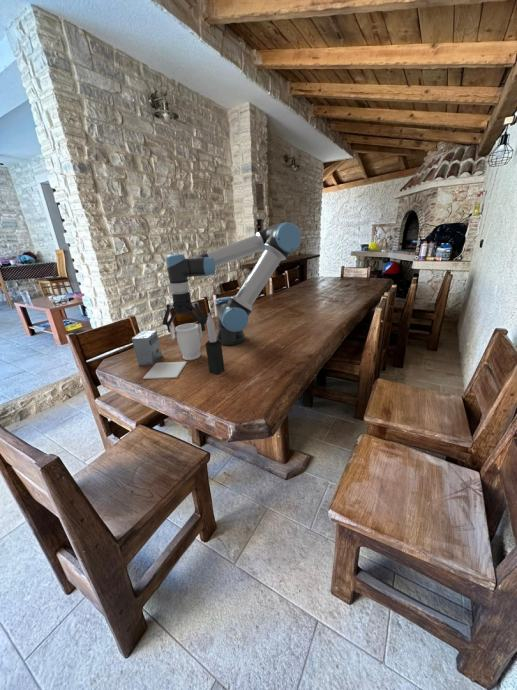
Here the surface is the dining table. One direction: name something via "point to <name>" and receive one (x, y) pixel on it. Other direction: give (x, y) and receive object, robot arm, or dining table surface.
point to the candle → (214, 349)
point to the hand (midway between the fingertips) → (187, 338)
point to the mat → (165, 370)
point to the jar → (189, 340)
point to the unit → (147, 347)
